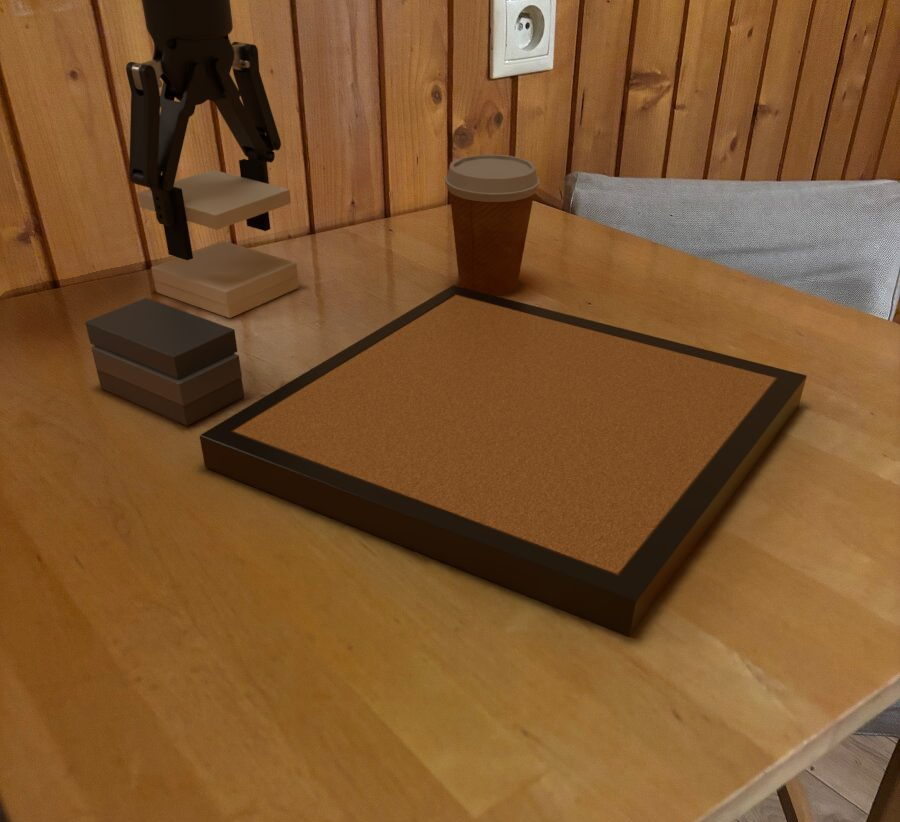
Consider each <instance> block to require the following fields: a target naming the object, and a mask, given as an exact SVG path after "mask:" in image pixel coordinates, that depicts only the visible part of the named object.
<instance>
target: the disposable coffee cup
mask: <svg viewBox="0 0 900 822" xmlns="http://www.w3.org/2000/svg"><path fill="white" fill-rule="evenodd" d="M536 167H537V166H536V165H535V163H534V162H532V161H530V160H528V159H525V158H522V157H518V156H513V155H505V154H489V153H488V154H487V153H486V154H473V155H467V156H464V157H463V156H462V157H459V158H456V159H454V160H453V161H451V162H450V164H449V168H448V171H447V174H446V175H445V177H444V183H445V185H446V188H447V191H448V192H449V199H450V208H451V210H450V211H451V218H452V226H453V228H452V230H453V238H454V244H455V245H454V248H455V256H456V265H457V274H458V275H457V276H458V285H459V286H458V287H462V288H466V289H470V290H474V291H478V292H481V293H485V294H489V295H493V296H500V295H501V296H502V295H506V294H509V293H512V292H514V291H515V290H516V289H517V288H518V286H519V279H520V273H521V268H522V261H523V257H524V251H525V246H526V240H527V234H528V229H529V224H530V218H531V213H532V209H533V208H532V207H533V202H534V196H535V194H536V192H537V191H538V190H537V189H538V187H539V185H540V181H541V179H540V178H539V177H538V175H537V168H536Z"/></svg>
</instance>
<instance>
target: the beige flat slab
mask: <svg viewBox="0 0 900 822" xmlns="http://www.w3.org/2000/svg"><path fill="white" fill-rule="evenodd" d="M173 187H177V188H180V189H182V193H183V199H184V206H185V212H186V218H187V222H189V223H191V224H192V223H193V224H196V225H199V226H203V227H206V228H209V229H213V230H216V231H219V230H221V229H224V228H227V227H230V226H233V225H236V224H238V223H241V222H245V221H246V219H249V218H252V217H255V216H258V215H260V214H263V213H266V212H271V211H274V210H277V209H280V208H282V207H283V208H284V207H285V206H287V205H290V204H292V200H291V199H292V198H291V190H290V188H287V187H282V186H278V185H274V184H270V183H269V184H267V183H263V182H259V181H255V180H251V179H247V178H243V177H241V176H239V175H235V174H231V173H227V172H223V171H219V170H215V169H210V170H208V171H205V172H201V173H197V174H194V175H192V176H191V175H190V176H187V177H184V178H182V179H179V180H175V182H174V186H173ZM137 198H138V203H139V208H142V209H145V210H149V211H152V212H155V207H154V202H153V196H152V192H151V189H150V188H148V189H146V190H142V191H139V192H137Z"/></svg>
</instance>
